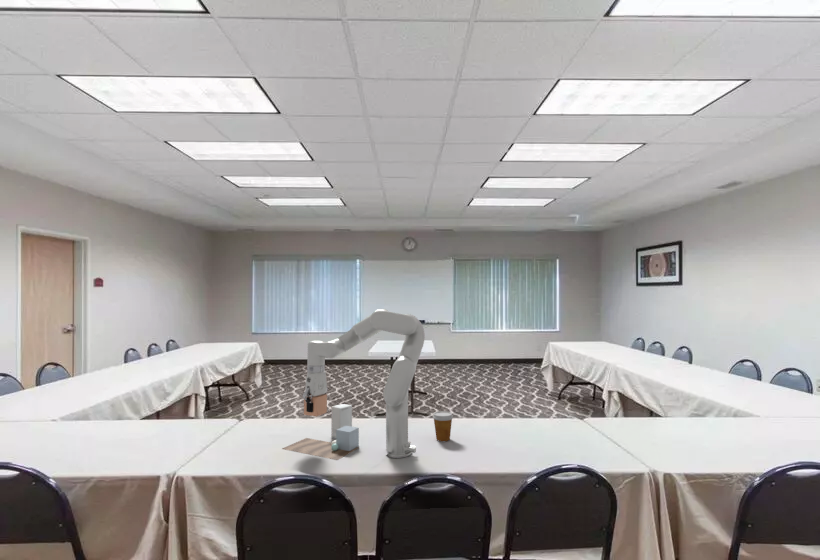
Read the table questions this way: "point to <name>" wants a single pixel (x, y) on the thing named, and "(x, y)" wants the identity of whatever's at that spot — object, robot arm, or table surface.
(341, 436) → the pale blue cube
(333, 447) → the marble teal
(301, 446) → the walnut board
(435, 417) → the disposable coffee cup
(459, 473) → the table surface
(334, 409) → the skincare box
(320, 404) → the peach cube block
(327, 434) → the table surface
